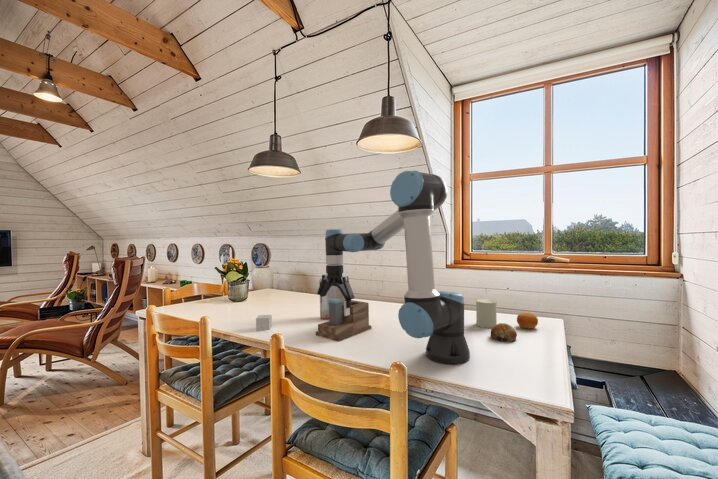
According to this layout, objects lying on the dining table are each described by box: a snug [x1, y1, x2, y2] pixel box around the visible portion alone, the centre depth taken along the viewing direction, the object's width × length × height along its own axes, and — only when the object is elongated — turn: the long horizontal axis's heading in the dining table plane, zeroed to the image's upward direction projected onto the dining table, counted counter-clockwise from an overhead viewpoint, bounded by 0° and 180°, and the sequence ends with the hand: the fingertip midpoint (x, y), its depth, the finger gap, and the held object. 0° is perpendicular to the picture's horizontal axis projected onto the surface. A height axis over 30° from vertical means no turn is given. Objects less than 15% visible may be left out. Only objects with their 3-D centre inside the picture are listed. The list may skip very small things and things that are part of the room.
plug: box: [328, 299, 342, 326], centre depth 143 cm, size 4×4×14 cm
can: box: [475, 298, 498, 329], centre depth 154 cm, size 9×9×12 cm
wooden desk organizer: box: [315, 299, 373, 342], centre depth 148 cm, size 14×22×12 cm, turn 140°
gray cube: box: [255, 314, 273, 332], centre depth 155 cm, size 6×6×6 cm
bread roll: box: [490, 322, 518, 343], centre depth 136 cm, size 10×10×8 cm
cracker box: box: [318, 277, 345, 320], centre depth 172 cm, size 14×6×21 cm, turn 88°
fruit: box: [516, 312, 539, 329], centre depth 150 cm, size 8×8×8 cm
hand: (335, 313), depth 143 cm, fingers open, 13 cm apart
